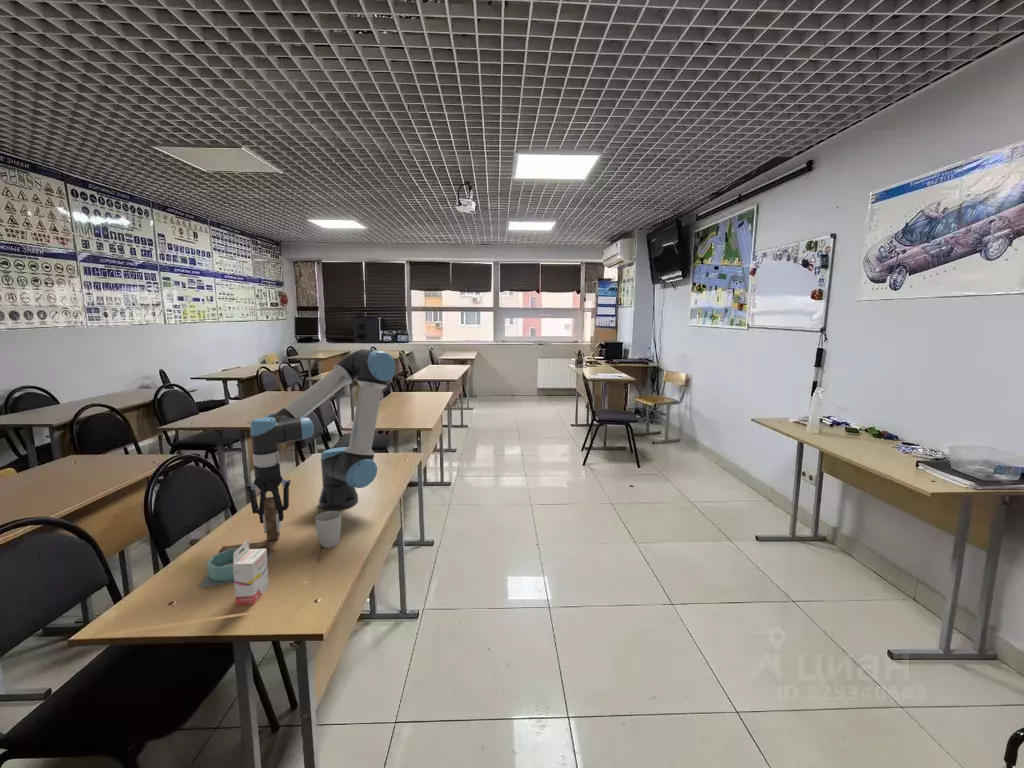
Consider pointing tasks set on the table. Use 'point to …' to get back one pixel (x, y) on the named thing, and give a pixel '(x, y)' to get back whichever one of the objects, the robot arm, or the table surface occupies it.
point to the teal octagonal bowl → (222, 566)
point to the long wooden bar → (251, 546)
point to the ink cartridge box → (249, 574)
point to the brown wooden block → (271, 518)
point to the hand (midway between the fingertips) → (272, 530)
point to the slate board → (210, 582)
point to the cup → (328, 528)
